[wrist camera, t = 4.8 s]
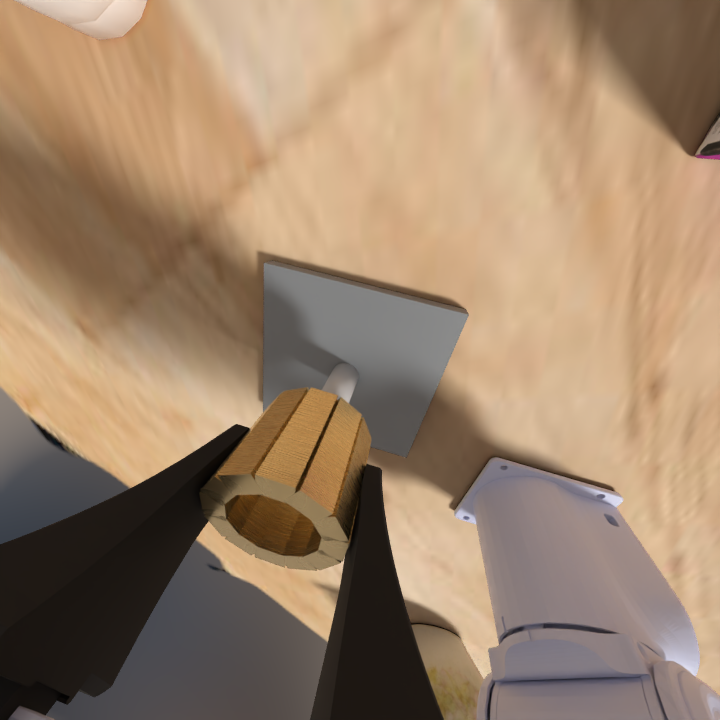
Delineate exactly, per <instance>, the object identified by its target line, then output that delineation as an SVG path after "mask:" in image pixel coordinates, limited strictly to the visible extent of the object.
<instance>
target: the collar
mask: <svg viewBox="0 0 720 720" xmlns="http://www.w3.org/2000/svg"><path fill="white" fill-rule="evenodd" d="M337 398H338V395H335V394H332V393H329V392H325V391H322V390H319V389H315V388H312V387H311V388H310V390H309V388H308V387H305V388H299V389H293V390H287V391H284V392H283V393H281V394H280V395H279V396H278V397H277V398H276V399H275V400H274V401H273V402H272V403H271V404H270V405H269V406H268V407H267V408H266V410H265V411H264V412H263V413H262V415H261V416H260V417H259V418H258V420H257V421H256V422H255V423H254V425H253V426H252V427H251V428H250V429H249V431H248V432H247V433H246V434H245V436H244V437H243V438H242V439H241V441H240V442H239V443H238V444H237V446H236V447H235V448H234V449H233V451H232V452H231V453H230V454H229V455H228V457H227V458H226V459H225V460H224V462H223V463H222V464H221V465H220V467H219V468H218V469H217V470H216V472H215V473H214V474H213V475H212V476H211V478H210V479H209V480H208V481H207V483H206V484H205V485H204V486H203V488H202V489H201V490H200V491H201V492H200V493H199V495H200V500H201V505H202V511H203V514H205V517H206V518H207V519H208V521H209V522H210V523H211V524H212V525H213V526H214V528H215V529H216V530H217V531H218V532H219V533H220V534H221V536H226V538H225V539H226V540H228V541H229V542H231V543H233V544H234V545H236V546H237V547H239V548H240V549H242V550H244V551H245V552H247V553H248V554H250V555H253V554H255V557H256V558H259V559H262V560H265V561H267V562H270V563H273V564H276V565H279V566H282V567H284V568H285V565H286V566H287V568H289V569H302V570H314V571H317V569H318V570H322V569H325V568H328V567H331V566H334V565H337V564H339V563H341V561H343V559H344V556H345V554H346V551H347V548H348V546H349V543H350V538H351V533H352V529H353V524H354V519H355V515H356V510H357V505H358V501H359V495H360V488H361V483H362V479H363V474H364V470H365V466H366V463H367V459H368V454H369V449H370V445H371V435H370V433H369V430H368V427H367V425H366V422H365V419H364V417H361V416H362V414H361V413H359V412H358V411H357V410H356V409H355V408H354V407H352V406H351V405H350V404H349V403H348V402H346V401H345V400H344V399H343V398H342V397H340V398H339V399H338V400H337Z"/></svg>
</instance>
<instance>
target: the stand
mask: <svg viewBox="0 0 720 720" xmlns="http://www.w3.org/2000/svg"><path fill="white" fill-rule="evenodd" d="M468 315H469V314H468V312H467V310H466V309H463V308H459V307H455V306H451V305H447V304H443V303H439V302H435V301H431V300H427V299H423V298H419V297H415V296H411V295H407V294H403V293H399V292H395V291H392V290H388V289H384V288H380V287H376V286H372V285H368V284H364V283H360V282H356V281H352V280H348V279H344V278H340V277H336V276H332V275H328V274H324V273H320V272H316V271H312V270H308V269H304V268H300V267H296V266H292V265H289V264H285V263H281V262H277V261H273V260H272V261H268V262H265V263H264V343H263V412H264V411H265V410H266V408H267V407H268V406H269V405H270V404H271V403H272V402H273V401H274V400H275V399H276V398H277V397H278V396H279V395H280V394H281V393H283V392H284V391H287V390H293V389H299V388H305V387H308V388H309V390H310V388H311V387H312V388H315V389H319V390H322V391H325V392H329V393H332V394H335V395H338V398H337V400H338V399H339V398H340V397H342V398H343V399H344V400H345V401H346V402H348V403H349V404H350V405H351V406H352V407H354V408H355V409H356V410H357V411H358V412H359V413H361V414H362V416H361V417H364V419H365V422H366V425H367V427H368V430H369V433H370V435H371V445H370V447H373V448H376V449H379V450H383V451H386V452H389V453H392V454H396V455H399V456H402V457H406V458H407V455H408V453H409V451H410V448H411V446H412V444H413V442H414V439H415V437H416V435H417V432H418V430H419V428H420V426H421V423H422V421H423V419H424V416H425V414H426V412H427V409H428V407H429V405H430V403H431V400H432V398H433V396H434V393H435V391H436V389H437V387H438V384H439V382H440V380H441V377H442V375H443V373H444V370H445V368H446V366H447V364H448V361H449V359H450V357H451V354H452V352H453V350H454V348H455V345H456V343H457V341H458V338H459V336H460V334H461V331H462V329H463V327H464V325H465V322H466V320H467V318H468Z"/></svg>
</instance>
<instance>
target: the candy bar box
mask: <svg viewBox="0 0 720 720" xmlns="http://www.w3.org/2000/svg"><path fill="white" fill-rule="evenodd" d="M695 157H697V158H704V159H718V160H720V113H719V115H718V116H717V118H716V120H715V121H714V123H713V124H712V126H711V128H710V130H709V131H708V133H707V135H706V137H705V139H704V140H703V142H702V144H701V145H700V147H699V148H698V150H697V152H696V154H695Z"/></svg>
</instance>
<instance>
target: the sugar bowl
mask: <svg viewBox="0 0 720 720" xmlns="http://www.w3.org/2000/svg"><path fill="white" fill-rule="evenodd" d="M411 626H412V629H413V632H414V635H415V638H416V642H417V645H418V648H419V651H420V654H421V657H422V660H423V663H424V666H425V669H426V671H427V674H428V677H429V680H430V683H431V686H432V689H433V691H434V694H435V697H436V699H437V702H438V705H439V707H440V710H441V713H442V715H443V718H444V720H476V718H477V702H478V695H479V691H480V687H481V685H482V682H483V680H484V679H483V678H482V676H481V674H480V672H479V670H478V669H477V667H476V665H475V664H474V662H473V660H472V659H471V657H470V655H469V654H468V652H467V650H466V648H465V646H464V644H463V642H462V640H461V639H460V638H459V637H458V636H457V635H455V634H453V633H451V632H449V631H447V630H444V629H442V628H438V627H435V626H429V625H423V624H415V625H411Z"/></svg>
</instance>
